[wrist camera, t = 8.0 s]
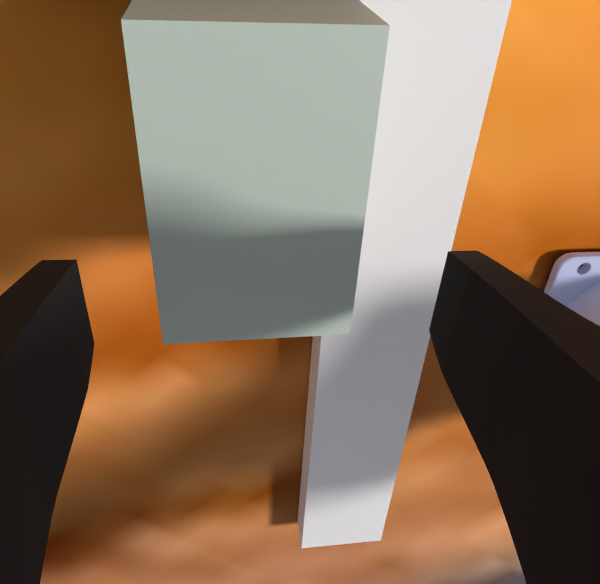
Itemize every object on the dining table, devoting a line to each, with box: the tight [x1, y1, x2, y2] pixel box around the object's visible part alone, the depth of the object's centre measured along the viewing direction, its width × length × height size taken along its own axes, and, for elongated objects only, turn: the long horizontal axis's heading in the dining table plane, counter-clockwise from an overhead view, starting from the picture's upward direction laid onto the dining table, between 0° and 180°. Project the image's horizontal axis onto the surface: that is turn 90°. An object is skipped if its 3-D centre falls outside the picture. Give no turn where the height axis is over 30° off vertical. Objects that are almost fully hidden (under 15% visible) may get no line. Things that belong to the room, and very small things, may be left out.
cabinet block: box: [121, 0, 390, 344], centre depth 14 cm, size 4×7×6 cm, turn 178°
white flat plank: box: [298, 0, 512, 548], centre depth 20 cm, size 4×28×2 cm, turn 178°
